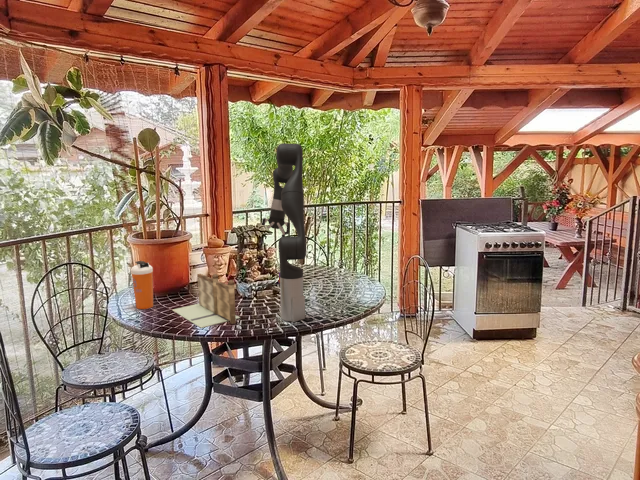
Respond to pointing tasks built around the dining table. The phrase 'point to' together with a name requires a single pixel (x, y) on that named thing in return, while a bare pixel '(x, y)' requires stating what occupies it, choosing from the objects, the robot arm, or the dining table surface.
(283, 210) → the robot arm
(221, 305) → the panel
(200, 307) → the card
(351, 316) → the dining table surface
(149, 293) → the shaker bottle
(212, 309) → the fence panel
